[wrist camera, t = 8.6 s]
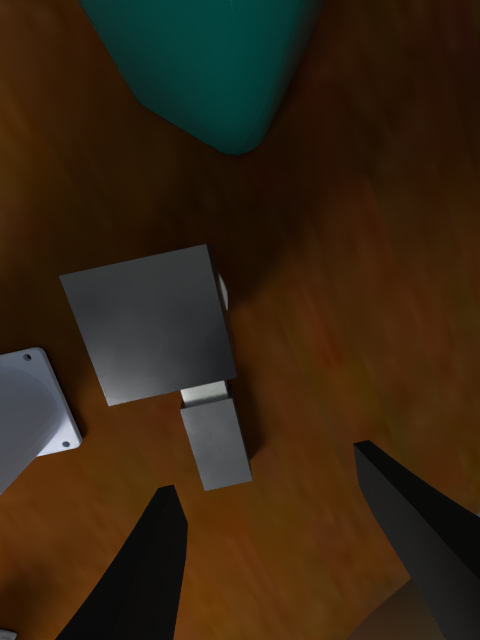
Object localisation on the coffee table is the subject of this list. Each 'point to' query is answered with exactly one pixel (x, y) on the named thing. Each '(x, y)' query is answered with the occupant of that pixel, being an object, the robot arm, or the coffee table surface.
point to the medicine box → (7, 635)
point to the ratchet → (216, 432)
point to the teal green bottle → (208, 60)
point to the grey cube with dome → (154, 323)
